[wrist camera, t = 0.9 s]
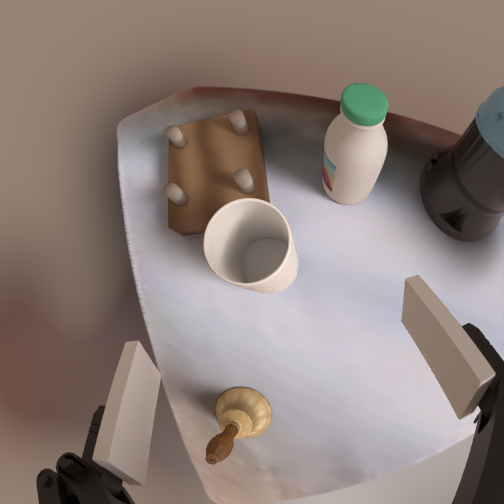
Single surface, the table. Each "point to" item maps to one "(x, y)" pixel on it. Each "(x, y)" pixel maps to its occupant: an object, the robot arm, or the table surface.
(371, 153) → the milk bottle
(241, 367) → the table surface
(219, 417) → the hand bell
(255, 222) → the cup
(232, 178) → the riser
